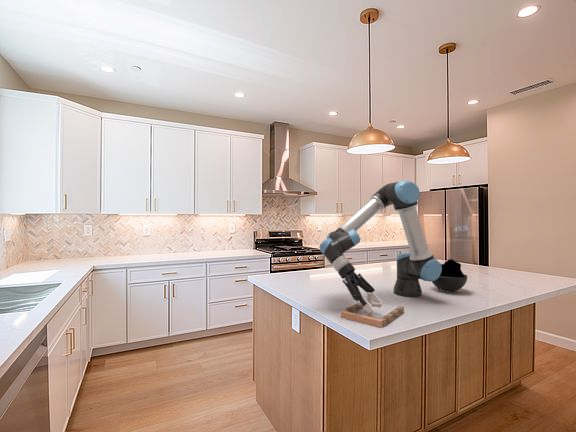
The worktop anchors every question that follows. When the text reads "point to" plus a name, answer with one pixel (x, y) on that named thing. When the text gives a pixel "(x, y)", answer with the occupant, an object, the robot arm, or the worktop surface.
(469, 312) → the worktop surface
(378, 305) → the pipe connector
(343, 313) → the band bar
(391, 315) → the brown wooden frame
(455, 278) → the bowl of black rocks
